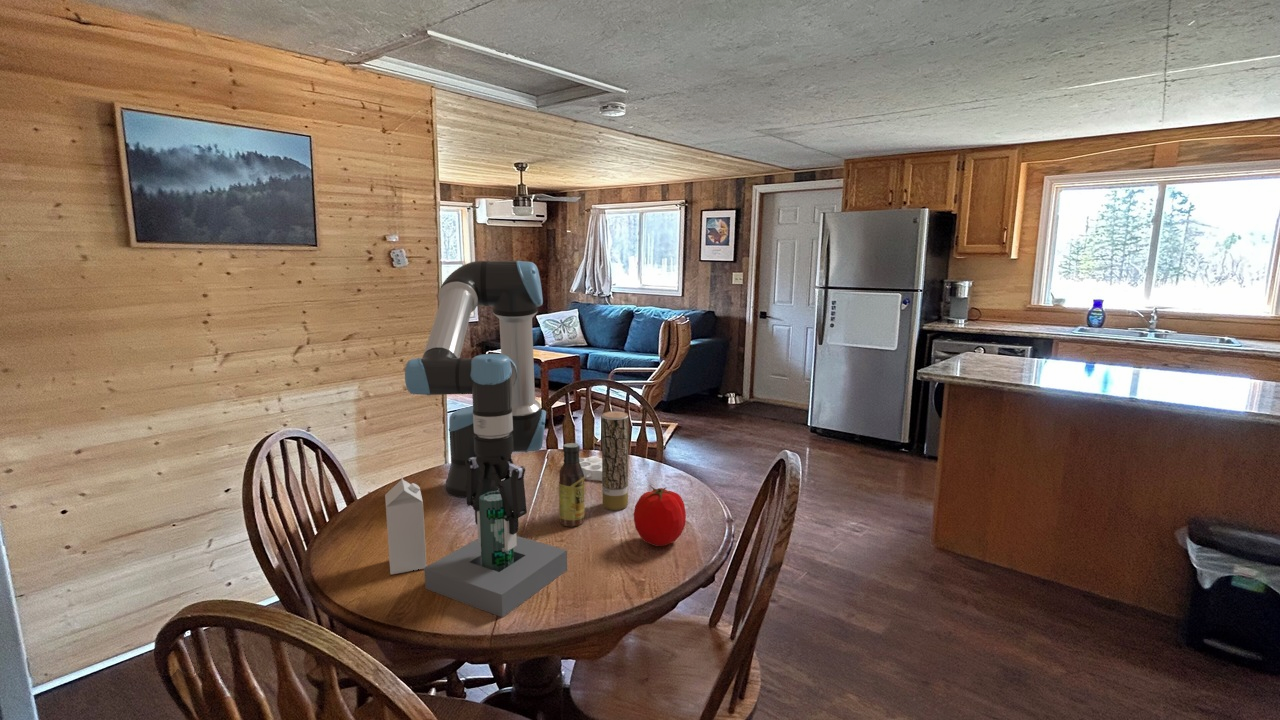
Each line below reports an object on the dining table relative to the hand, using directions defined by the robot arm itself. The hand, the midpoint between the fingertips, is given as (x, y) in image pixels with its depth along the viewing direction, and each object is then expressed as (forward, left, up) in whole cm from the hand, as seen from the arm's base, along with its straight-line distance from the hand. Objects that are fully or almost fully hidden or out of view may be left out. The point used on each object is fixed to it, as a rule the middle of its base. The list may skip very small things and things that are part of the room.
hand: (497, 543), depth 124 cm
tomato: (+21, +31, -8) cm, 38 cm away
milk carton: (-21, -5, -8) cm, 23 cm away
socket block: (0, 0, -8) cm, 8 cm away
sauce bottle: (-3, +30, -8) cm, 31 cm away
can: (0, 0, -5) cm, 5 cm away
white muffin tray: (-18, +63, -8) cm, 66 cm away
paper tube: (+1, +44, -8) cm, 45 cm away
